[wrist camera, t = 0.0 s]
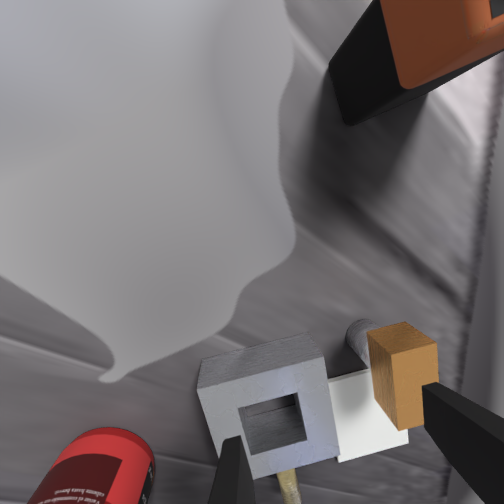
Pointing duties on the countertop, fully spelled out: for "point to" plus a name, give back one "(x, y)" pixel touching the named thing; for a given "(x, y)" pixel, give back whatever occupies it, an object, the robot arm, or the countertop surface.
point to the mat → (361, 417)
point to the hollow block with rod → (277, 421)
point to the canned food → (100, 471)
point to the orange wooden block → (396, 367)
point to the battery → (411, 51)
